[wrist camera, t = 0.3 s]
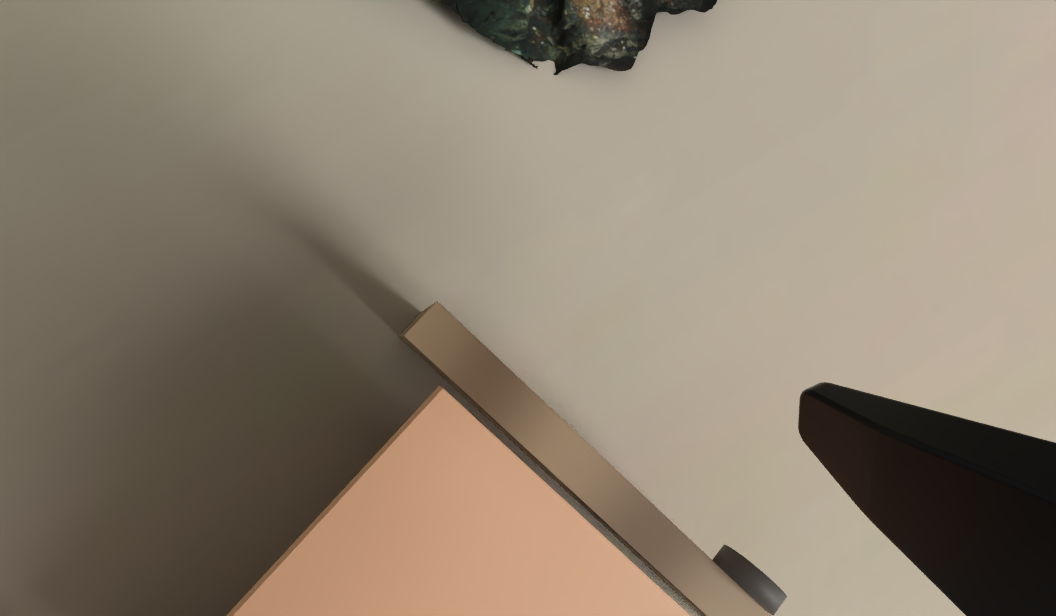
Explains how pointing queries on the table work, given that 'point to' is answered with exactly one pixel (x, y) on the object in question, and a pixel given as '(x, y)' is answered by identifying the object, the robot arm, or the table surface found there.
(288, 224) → the table surface
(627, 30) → the decorative rock
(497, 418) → the trapdoor frame
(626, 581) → the trapdoor
